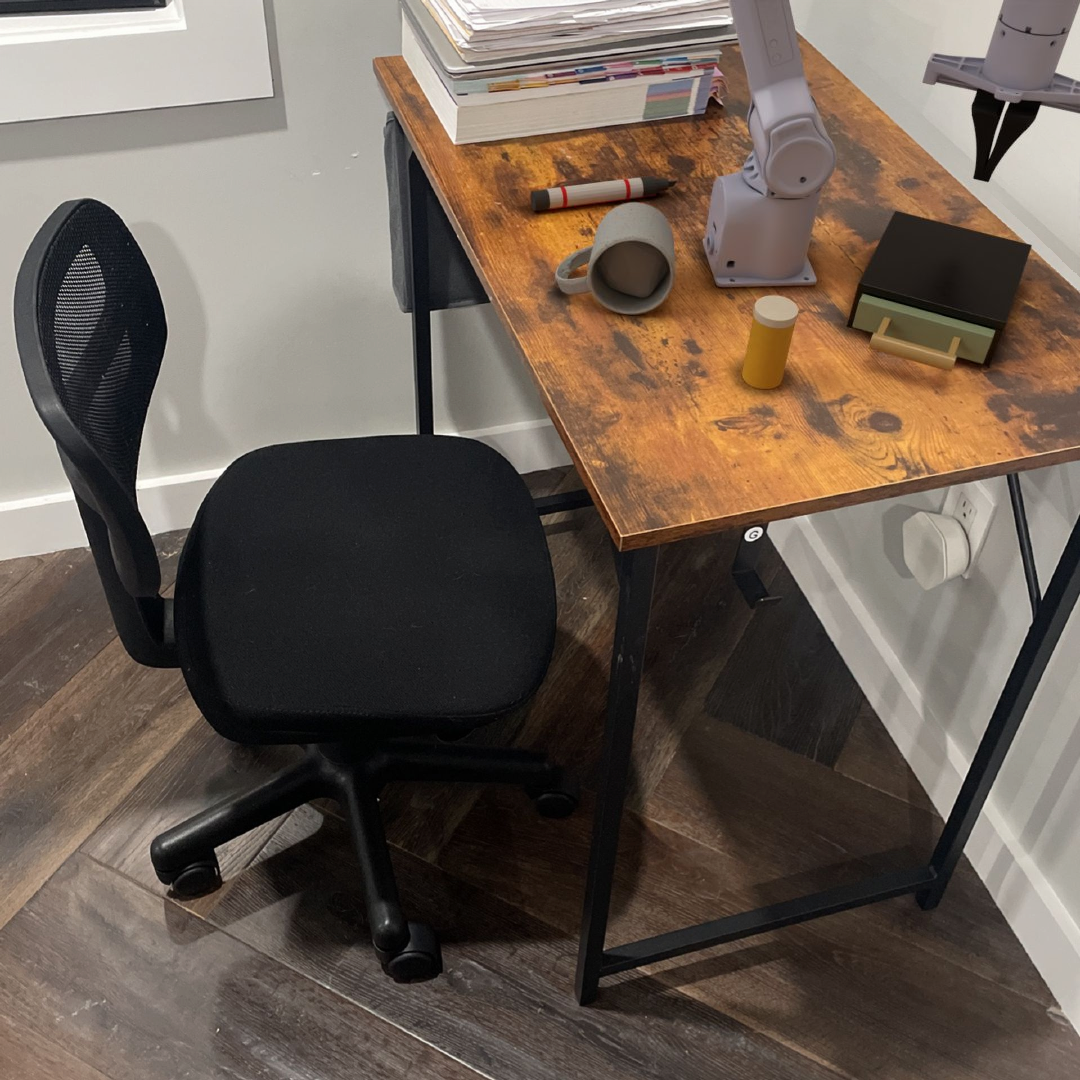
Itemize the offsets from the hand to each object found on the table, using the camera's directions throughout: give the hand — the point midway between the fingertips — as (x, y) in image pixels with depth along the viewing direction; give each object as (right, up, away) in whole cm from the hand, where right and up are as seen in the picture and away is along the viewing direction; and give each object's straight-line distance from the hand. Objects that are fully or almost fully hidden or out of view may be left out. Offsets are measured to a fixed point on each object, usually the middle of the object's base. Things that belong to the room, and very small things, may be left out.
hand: (982, 175), depth 102 cm
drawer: (-5, -13, -1) cm, 14 cm away
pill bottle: (-21, -19, -6) cm, 29 cm away
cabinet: (-4, -11, +2) cm, 12 cm away
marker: (-33, +2, +14) cm, 36 cm away
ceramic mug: (-33, -10, +2) cm, 35 cm away
